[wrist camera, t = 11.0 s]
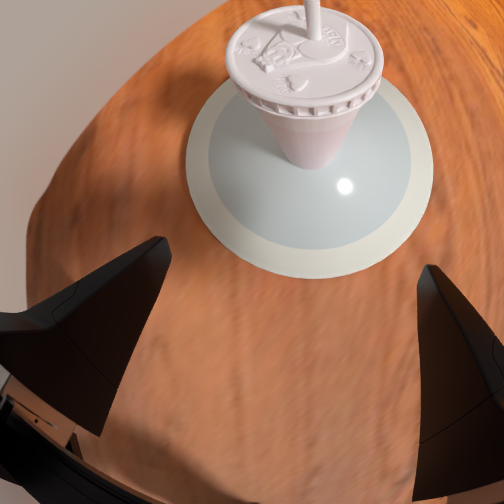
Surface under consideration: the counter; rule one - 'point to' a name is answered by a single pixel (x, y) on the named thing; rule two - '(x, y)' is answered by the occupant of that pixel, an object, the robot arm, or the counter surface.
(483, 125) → the counter surface
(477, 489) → the robot arm
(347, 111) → the smoothie
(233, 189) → the plate
